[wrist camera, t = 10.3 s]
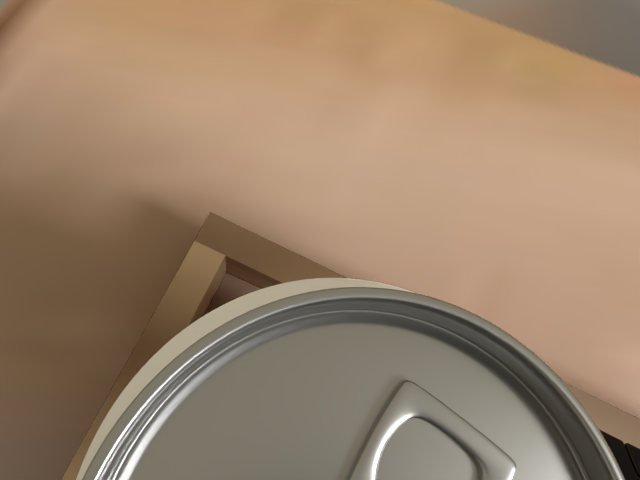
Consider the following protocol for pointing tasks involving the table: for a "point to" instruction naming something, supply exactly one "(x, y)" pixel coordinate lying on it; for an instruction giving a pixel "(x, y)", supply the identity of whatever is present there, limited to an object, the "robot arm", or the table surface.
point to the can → (346, 396)
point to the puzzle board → (262, 271)
